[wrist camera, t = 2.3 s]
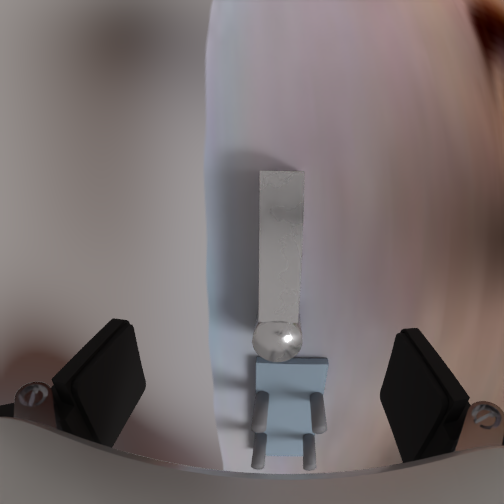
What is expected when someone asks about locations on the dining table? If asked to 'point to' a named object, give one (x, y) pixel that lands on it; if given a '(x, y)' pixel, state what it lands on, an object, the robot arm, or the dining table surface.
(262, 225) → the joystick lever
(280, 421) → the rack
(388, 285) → the dining table surface
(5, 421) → the robot arm
